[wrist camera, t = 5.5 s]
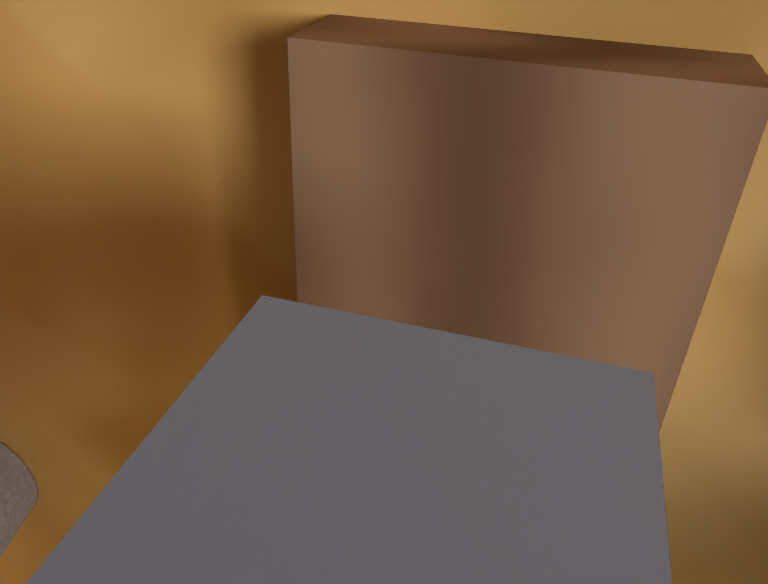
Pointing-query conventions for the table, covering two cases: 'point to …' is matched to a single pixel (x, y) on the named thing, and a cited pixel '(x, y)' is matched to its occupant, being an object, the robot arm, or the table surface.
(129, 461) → the blue block
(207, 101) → the table surface
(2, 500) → the house plant
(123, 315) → the table surface
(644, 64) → the walnut slab
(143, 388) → the table surface
